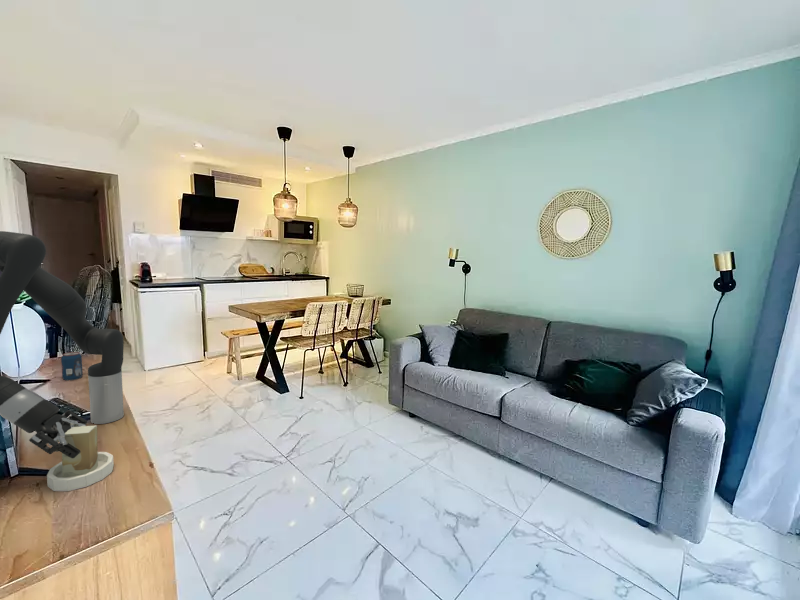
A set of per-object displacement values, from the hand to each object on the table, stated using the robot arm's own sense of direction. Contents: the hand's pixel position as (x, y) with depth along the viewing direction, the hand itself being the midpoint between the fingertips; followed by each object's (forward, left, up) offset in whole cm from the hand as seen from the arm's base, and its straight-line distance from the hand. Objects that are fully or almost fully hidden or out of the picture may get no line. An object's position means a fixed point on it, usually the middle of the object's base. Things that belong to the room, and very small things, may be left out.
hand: (86, 446), depth 95 cm
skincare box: (-1, -1, -7) cm, 7 cm away
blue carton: (-91, +31, -8) cm, 96 cm away
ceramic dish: (-1, -1, -8) cm, 8 cm away
